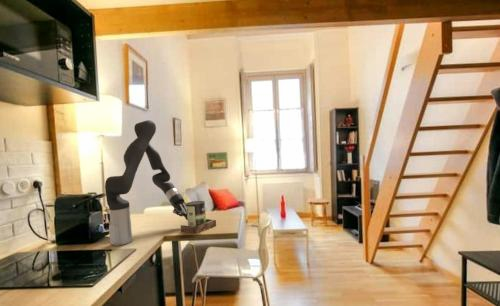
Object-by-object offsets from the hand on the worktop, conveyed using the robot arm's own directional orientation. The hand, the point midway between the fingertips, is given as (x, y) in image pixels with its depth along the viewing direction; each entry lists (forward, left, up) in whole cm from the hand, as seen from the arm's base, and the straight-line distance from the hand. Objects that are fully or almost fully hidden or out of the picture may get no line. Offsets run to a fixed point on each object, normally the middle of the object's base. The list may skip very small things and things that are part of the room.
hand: (190, 219), depth 160 cm
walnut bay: (0, -7, -4) cm, 8 cm away
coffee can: (0, -5, -4) cm, 7 cm away
